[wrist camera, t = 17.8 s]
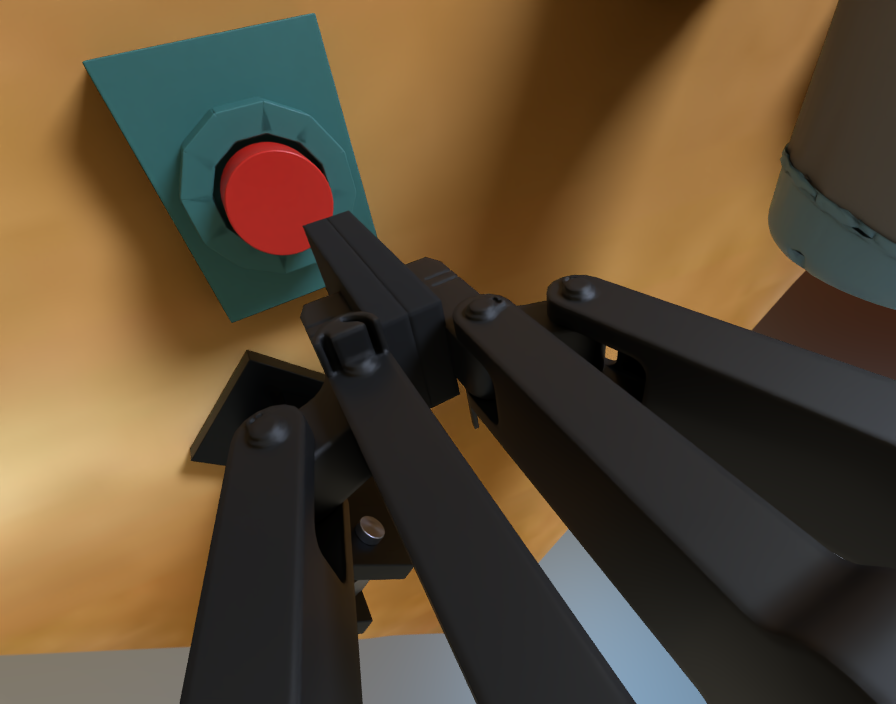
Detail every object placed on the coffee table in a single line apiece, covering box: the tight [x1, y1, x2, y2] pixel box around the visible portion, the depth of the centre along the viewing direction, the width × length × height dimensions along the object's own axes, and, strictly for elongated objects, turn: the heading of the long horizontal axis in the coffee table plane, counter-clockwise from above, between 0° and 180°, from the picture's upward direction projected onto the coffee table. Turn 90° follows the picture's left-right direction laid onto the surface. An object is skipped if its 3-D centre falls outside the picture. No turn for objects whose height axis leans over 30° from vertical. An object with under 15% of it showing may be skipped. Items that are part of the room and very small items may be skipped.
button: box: [220, 142, 333, 255], centre depth 20 cm, size 4×4×2 cm
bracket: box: [190, 350, 413, 634], centre depth 26 cm, size 10×8×14 cm
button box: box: [83, 13, 377, 323], centre depth 22 cm, size 12×9×4 cm
